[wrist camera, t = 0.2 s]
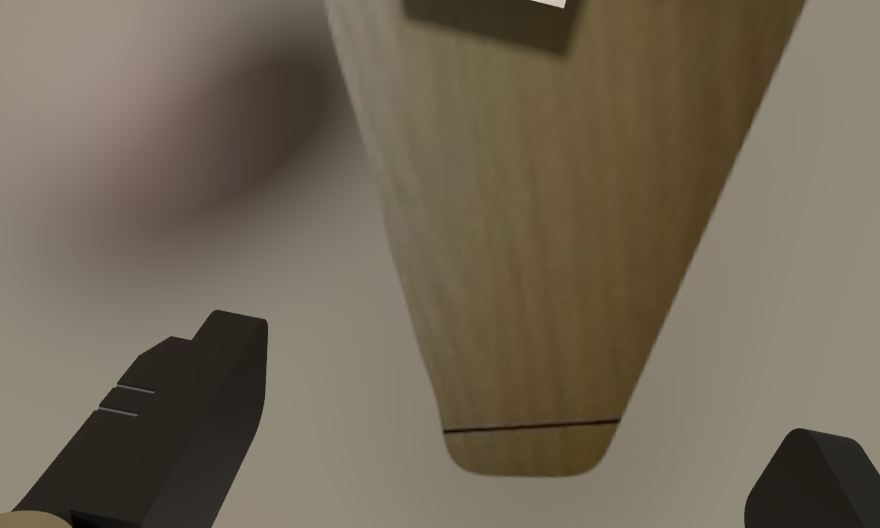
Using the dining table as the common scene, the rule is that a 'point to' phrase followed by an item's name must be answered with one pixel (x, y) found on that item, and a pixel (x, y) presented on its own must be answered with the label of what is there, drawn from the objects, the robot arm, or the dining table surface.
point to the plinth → (553, 2)
